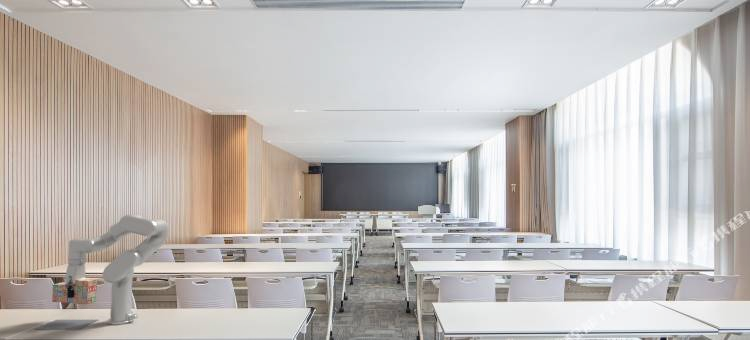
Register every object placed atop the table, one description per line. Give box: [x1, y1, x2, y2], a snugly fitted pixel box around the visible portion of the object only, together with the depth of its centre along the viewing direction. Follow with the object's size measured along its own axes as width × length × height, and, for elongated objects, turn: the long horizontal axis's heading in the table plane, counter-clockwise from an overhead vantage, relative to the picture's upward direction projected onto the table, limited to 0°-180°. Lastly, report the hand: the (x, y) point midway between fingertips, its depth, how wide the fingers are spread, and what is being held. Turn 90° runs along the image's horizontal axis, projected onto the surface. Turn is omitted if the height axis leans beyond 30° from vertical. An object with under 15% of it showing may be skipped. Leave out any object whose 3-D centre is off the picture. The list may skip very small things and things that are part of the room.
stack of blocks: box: [51, 277, 98, 305], centre depth 241 cm, size 21×6×12 cm, turn 80°
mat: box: [34, 319, 99, 331], centre depth 234 cm, size 22×16×1 cm
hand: (75, 295), depth 240 cm, fingers closed on stack of blocks, 7 cm apart
